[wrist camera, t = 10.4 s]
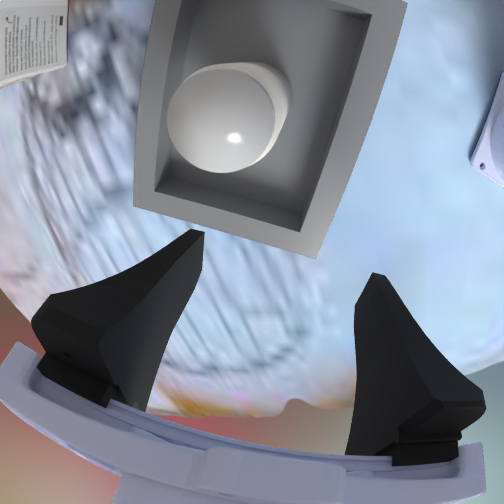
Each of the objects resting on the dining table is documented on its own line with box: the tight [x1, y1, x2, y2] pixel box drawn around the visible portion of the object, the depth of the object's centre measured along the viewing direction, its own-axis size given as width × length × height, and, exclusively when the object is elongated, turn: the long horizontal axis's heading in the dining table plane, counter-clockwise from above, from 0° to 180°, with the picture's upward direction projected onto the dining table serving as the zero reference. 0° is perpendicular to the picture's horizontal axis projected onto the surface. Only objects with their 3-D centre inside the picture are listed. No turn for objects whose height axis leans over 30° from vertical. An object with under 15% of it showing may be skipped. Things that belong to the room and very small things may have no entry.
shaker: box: [167, 62, 293, 173], centre depth 13 cm, size 4×4×8 cm
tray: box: [133, 0, 408, 259], centre depth 16 cm, size 13×17×3 cm
